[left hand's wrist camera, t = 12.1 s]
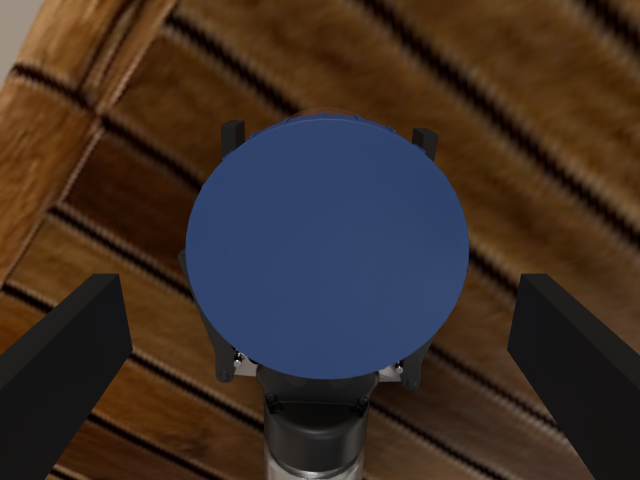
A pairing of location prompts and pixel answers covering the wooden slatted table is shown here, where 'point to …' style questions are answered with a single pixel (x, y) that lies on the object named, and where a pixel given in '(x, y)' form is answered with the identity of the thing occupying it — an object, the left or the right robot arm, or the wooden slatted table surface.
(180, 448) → the wooden slatted table surface
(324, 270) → the lid
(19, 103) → the wooden slatted table surface
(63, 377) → the left robot arm
